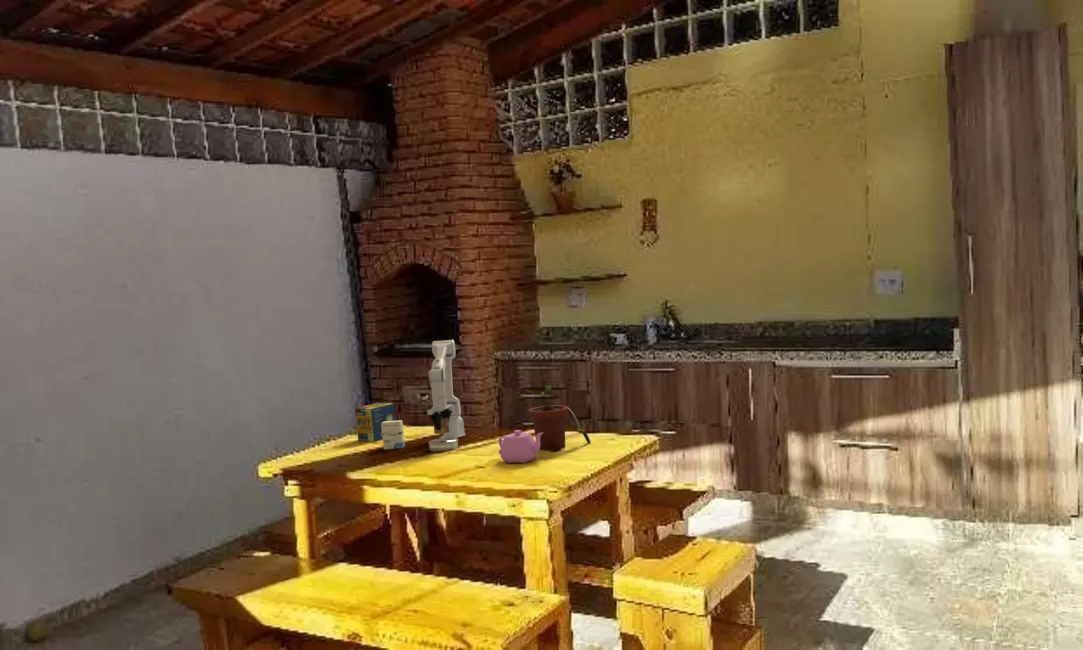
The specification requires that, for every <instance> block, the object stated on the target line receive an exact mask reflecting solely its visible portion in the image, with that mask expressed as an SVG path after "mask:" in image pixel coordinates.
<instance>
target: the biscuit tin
mask: <svg viewBox="0 0 1083 650" xmlns="http://www.w3.org/2000/svg"><path fill="white" fill-rule="evenodd" d="M458 441H459V439H458V438H440V437H439V438H435V439H431V440H429V441H428V446H429V451H431V452H446V451H451V450H452V451H453V450H455V449H458V448H459V444H458V443H459V442H458Z"/></svg>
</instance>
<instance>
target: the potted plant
mask: <svg viewBox="0 0 1083 650" xmlns="http://www.w3.org/2000/svg"><path fill="white" fill-rule="evenodd" d="M551 390H552V386H551V385H546V386H545V392H544V391H541V393H540V396H543V397H545V401H546V405H543V406H541V405H540V406H537V407H532V408H529V409H528V413H529V418H532V422H533V429H534V434H535V435H534V436H535V438H536V436H537V434H538V433H542V432H544V433H542V435H541V436H540V449H539V450H538V451H550V452H551V453H556V452H561V451H562V449H564V448H565V447H566V422H565V421H566V418H565V417H566V416H567V415H568V412H569V415H570V416H571V419H572V420H573V423H574V426H575V427H576V429H577V430H578V431H582V435H583V436H584V439H585V441H586V443H587V444H590V443H591V441H592V440H590V437H589V435H588V433H587V432H586V430H584V429H581V425H580V423H579V421H578V418H577V417H576V415H575V414H574V412H573V411H572V409H570V408H569V406H567V405H561V404H558V405H557V404H556V405H555V404H553V405H552V404H549V402H548V401H549V400H548V397H547V393H548V392H549V391H551Z"/></svg>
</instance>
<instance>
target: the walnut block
mask: <svg viewBox="0 0 1083 650" xmlns="http://www.w3.org/2000/svg"><path fill="white" fill-rule="evenodd" d="M432 424H433V433H434V435H444V433H447V432H449V423H448V418H441V429H440V430H436V429H435V426H434V423H432Z"/></svg>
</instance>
